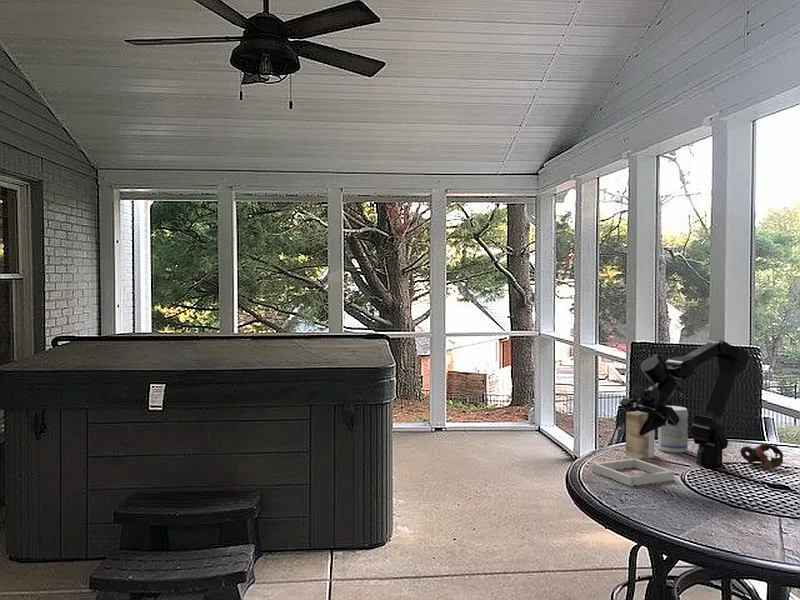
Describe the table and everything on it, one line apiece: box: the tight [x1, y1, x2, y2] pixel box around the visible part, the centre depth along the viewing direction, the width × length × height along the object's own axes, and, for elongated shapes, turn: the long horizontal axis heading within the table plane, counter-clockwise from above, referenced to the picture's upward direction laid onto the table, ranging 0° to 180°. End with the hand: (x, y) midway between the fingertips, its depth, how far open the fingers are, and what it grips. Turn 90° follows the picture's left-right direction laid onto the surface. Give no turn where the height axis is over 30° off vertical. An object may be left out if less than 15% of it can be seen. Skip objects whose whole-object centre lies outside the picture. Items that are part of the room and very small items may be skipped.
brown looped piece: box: [739, 443, 784, 471], centre depth 218 cm, size 12×10×8 cm
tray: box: [592, 458, 675, 487], centre depth 207 cm, size 16×16×2 cm
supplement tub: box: [657, 405, 689, 454], centre depth 238 cm, size 10×10×15 cm
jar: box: [647, 429, 656, 459], centre depth 231 cm, size 9×8×12 cm
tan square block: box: [625, 411, 649, 460], centre depth 204 cm, size 4×4×13 cm
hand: (633, 433), depth 204 cm, fingers closed on tan square block, 4 cm apart
